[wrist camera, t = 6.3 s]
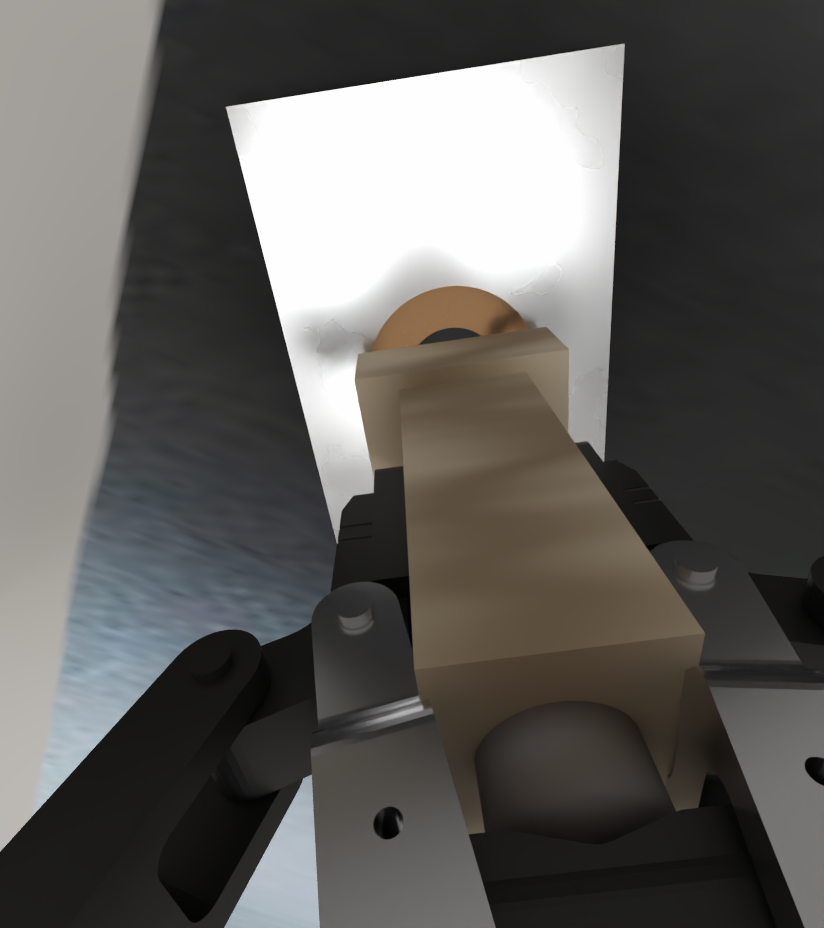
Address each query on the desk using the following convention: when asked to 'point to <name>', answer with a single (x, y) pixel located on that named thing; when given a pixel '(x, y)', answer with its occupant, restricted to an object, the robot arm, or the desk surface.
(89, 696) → the desk surface
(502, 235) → the bolt-hole plate
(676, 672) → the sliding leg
